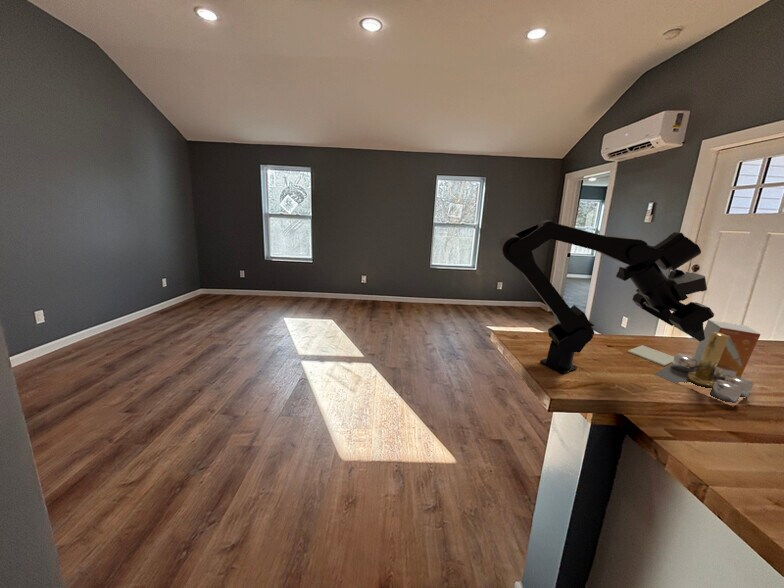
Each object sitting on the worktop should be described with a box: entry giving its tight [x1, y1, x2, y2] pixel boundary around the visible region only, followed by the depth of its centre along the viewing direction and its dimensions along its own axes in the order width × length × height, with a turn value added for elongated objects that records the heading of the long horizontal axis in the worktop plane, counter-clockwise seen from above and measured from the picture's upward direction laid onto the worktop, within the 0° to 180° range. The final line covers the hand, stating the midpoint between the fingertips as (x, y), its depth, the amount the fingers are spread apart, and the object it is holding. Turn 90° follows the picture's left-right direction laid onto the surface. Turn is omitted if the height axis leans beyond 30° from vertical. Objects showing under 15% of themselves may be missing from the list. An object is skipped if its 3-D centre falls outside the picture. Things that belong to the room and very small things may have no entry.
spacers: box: [670, 353, 754, 403], centre depth 79 cm, size 15×15×4 cm
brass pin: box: [687, 332, 729, 388], centre depth 77 cm, size 5×5×13 cm
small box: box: [692, 319, 761, 377], centre depth 85 cm, size 8×6×13 cm
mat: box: [653, 364, 697, 385], centre depth 80 cm, size 15×15×1 cm
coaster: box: [627, 344, 675, 367], centre depth 92 cm, size 9×9×1 cm
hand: (687, 332), depth 76 cm, fingers open, 9 cm apart
